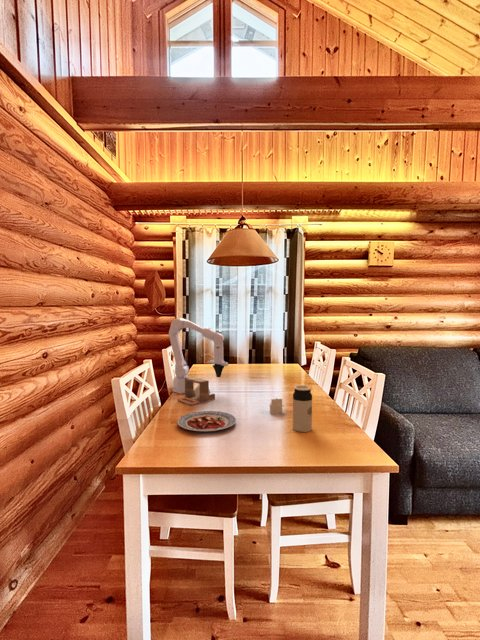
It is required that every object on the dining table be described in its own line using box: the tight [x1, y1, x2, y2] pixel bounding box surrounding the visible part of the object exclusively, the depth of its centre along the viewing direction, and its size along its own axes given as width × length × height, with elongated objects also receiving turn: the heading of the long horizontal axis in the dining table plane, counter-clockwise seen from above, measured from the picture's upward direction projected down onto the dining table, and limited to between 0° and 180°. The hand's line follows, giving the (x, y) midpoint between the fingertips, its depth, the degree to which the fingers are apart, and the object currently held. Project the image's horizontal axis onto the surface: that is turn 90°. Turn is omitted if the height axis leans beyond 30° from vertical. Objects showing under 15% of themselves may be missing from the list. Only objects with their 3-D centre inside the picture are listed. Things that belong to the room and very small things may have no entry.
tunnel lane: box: [184, 376, 216, 404], centre depth 197 cm, size 15×10×11 cm, turn 44°
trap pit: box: [177, 396, 200, 407], centre depth 190 cm, size 12×5×1 cm, turn 44°
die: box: [194, 383, 212, 400], centre depth 198 cm, size 8×9×10 cm
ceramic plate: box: [177, 410, 237, 432], centre depth 156 cm, size 26×26×3 cm
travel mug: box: [292, 384, 313, 433], centre depth 150 cm, size 8×8×18 cm
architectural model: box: [269, 397, 285, 414], centre depth 173 cm, size 3×7×7 cm, turn 101°
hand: (218, 376), depth 209 cm, fingers closed
